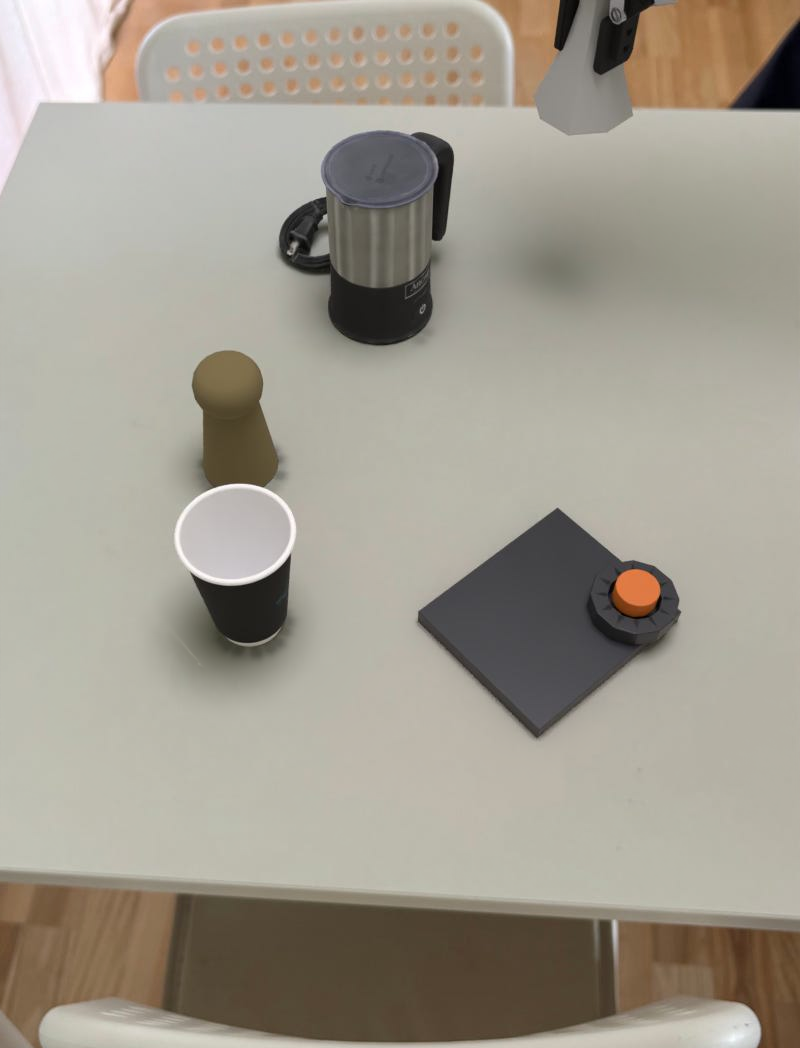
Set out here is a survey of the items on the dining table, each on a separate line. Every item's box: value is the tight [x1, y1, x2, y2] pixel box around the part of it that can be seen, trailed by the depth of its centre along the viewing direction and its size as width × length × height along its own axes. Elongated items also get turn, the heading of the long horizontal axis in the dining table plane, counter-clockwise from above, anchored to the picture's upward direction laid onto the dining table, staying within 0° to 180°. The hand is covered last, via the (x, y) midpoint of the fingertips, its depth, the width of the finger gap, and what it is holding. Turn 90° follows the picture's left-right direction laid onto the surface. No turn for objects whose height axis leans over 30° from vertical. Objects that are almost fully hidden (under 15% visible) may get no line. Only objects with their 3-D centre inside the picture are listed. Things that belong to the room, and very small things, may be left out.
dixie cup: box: [173, 484, 297, 647], centre depth 75 cm, size 8×8×11 cm
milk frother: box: [278, 129, 455, 345], centre depth 93 cm, size 14×16×15 cm
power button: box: [612, 569, 660, 617], centre depth 76 cm, size 3×3×2 cm
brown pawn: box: [191, 349, 279, 488], centre depth 83 cm, size 6×6×11 cm
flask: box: [533, 0, 634, 137], centre depth 79 cm, size 7×7×10 cm
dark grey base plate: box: [417, 507, 682, 739], centre depth 78 cm, size 14×12×3 cm
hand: (591, 52), depth 79 cm, fingers closed on flask, 3 cm apart
